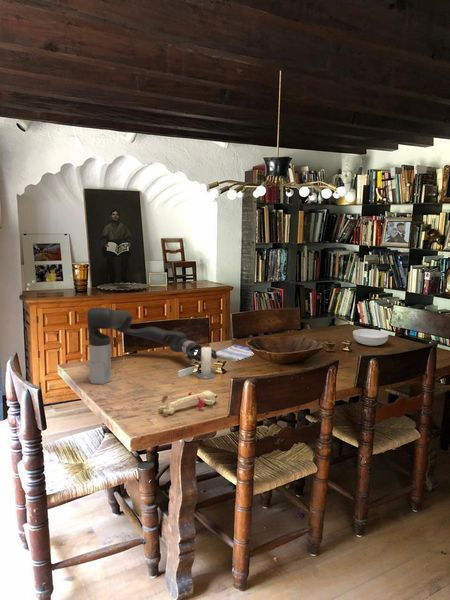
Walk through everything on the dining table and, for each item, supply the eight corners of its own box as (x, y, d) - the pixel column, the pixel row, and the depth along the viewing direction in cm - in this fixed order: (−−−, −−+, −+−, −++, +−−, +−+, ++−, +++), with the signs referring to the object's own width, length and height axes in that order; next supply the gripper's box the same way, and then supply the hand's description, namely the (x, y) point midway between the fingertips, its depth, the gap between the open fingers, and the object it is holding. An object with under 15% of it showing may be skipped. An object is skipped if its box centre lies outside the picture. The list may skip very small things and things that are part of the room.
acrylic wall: (208, 367, 242) (208, 362, 242) (179, 377, 227) (179, 371, 226) (207, 367, 243) (207, 361, 242) (178, 377, 227) (178, 370, 227)
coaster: (215, 379, 225) (215, 378, 225) (195, 379, 225) (195, 377, 225) (215, 373, 234) (215, 372, 234) (196, 372, 234) (196, 371, 234)
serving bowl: (347, 339, 306) (347, 328, 305) (379, 339, 308) (380, 328, 307) (359, 348, 286) (360, 337, 285) (393, 348, 288) (394, 337, 287)
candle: (210, 376, 228) (211, 347, 225) (200, 376, 228) (201, 347, 225) (210, 373, 232) (211, 345, 230) (201, 373, 232) (201, 344, 230)
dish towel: (210, 356, 263) (210, 351, 262) (235, 348, 281) (236, 343, 281) (236, 363, 253) (236, 358, 252) (261, 353, 271) (261, 349, 271)
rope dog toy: (168, 422, 181) (223, 403, 195) (167, 401, 179) (222, 383, 193) (156, 413, 189) (209, 396, 203) (154, 392, 187) (208, 376, 201)
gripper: (204, 355, 245) (221, 364, 231) (178, 358, 237) (194, 368, 224) (205, 340, 243) (221, 348, 230) (179, 343, 236) (194, 352, 222)
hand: (208, 358), depth 227 cm, fingers open, 8 cm apart
